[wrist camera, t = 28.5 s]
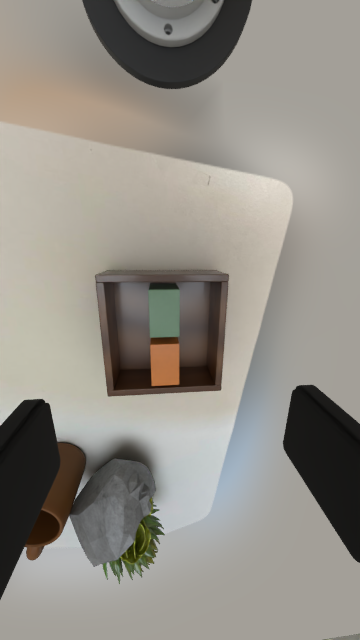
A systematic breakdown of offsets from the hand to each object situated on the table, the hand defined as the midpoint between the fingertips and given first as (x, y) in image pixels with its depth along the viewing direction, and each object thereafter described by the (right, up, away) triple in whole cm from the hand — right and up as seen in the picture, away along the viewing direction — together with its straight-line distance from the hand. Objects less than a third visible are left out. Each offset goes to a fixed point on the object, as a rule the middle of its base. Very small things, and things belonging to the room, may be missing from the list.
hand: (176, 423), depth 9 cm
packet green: (-2, +6, +21) cm, 22 cm away
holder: (-2, +3, +22) cm, 23 cm away
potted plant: (-9, -22, +29) cm, 38 cm away
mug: (-19, -21, +28) cm, 40 cm away
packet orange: (-2, 0, +23) cm, 23 cm away
